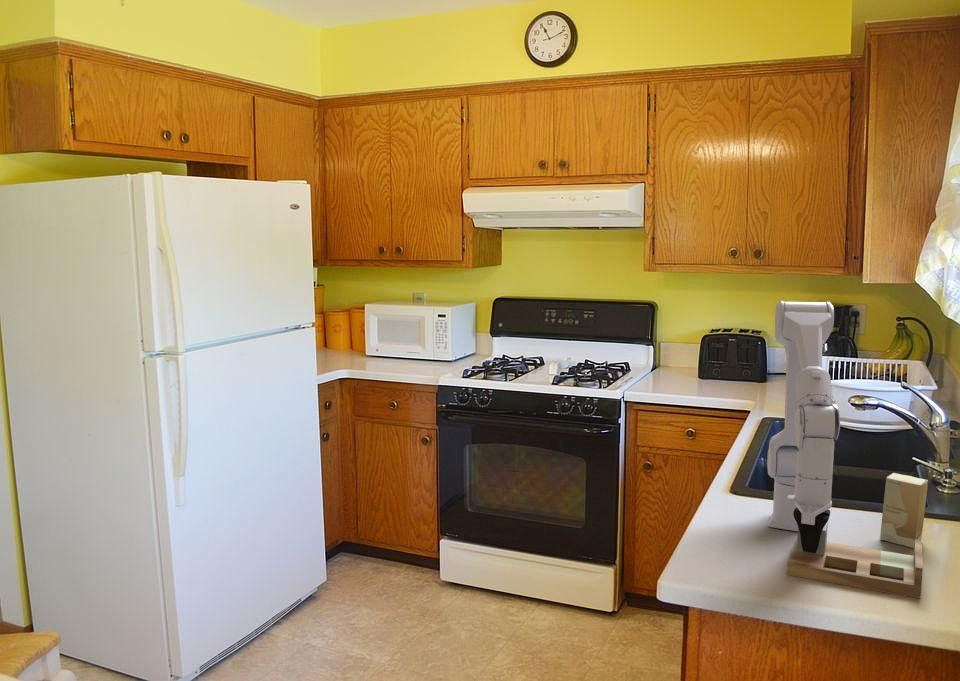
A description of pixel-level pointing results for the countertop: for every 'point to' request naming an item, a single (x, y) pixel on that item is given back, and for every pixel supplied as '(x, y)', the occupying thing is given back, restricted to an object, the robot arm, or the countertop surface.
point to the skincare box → (903, 509)
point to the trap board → (862, 568)
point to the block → (822, 542)
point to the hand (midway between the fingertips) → (809, 551)
